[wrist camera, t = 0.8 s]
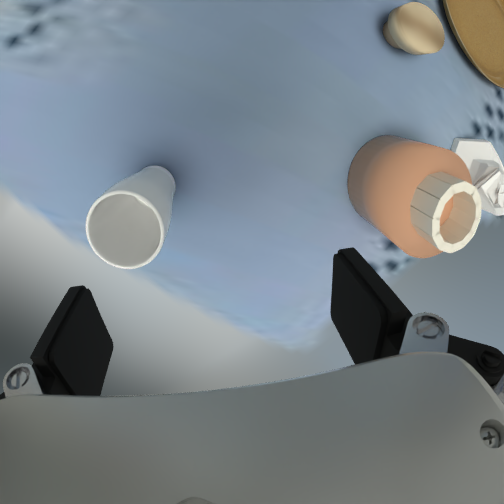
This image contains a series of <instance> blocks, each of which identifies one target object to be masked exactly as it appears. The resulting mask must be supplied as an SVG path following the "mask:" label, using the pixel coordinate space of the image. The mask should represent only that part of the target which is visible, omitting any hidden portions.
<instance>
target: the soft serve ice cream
mask: <svg viewBox="0 0 504 504" xmlns="http://www.w3.org/2000/svg"><path fill="white" fill-rule="evenodd" d="M450 151H452V152H454V153H456V154H457V155H458V156H459V157H460V158H461V159H462V160H463V161H464V163H465V164H466V166H467V168H468V170H469V173H470V176H471V180H472V185H473V186H475V187H476V188H477V191H478V193H479V196H480V198H481V202H482V203H481V209H483V210H485V211H487V212H490V213H492V214H494V215H497V216H500V215H504V167H503V165H502V163H501V160H500V158H499V156H498V154H497V152H496V151H495V149H494V147H493V146H492V144H491V142H489V141H487V140H482V139H463V138H454V141H453V144H452V147H451V150H450Z"/></svg>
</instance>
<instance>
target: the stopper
mask: <svg viewBox="0 0 504 504" xmlns="http://www.w3.org/2000/svg"><path fill="white" fill-rule="evenodd" d="M383 35H384V37H385V39H386V41H387V42H388V43H389V44H390V45H391V46H393V47H395V48H398V49H403V50H404V51H406V52H408V53H410V54H413V55H422V54H429V53H435V52H438V51H439V50H440V49H441V48H442V46H443V44H444V30H443V27H442V24H441V22H440V20H439V19H438V17H437V16H436V14H435V13H434V12H433V11H432V10H431V9H430V8H428V7H427V6H425V5H423V4H421V3H418V2H410V3H407V4H405V5H402V6H400V7H397V8H395V9H393V10H392V11H391V12H390V14H389V17H388V21H387V22H386V23H385V24H384V26H383Z"/></svg>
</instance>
